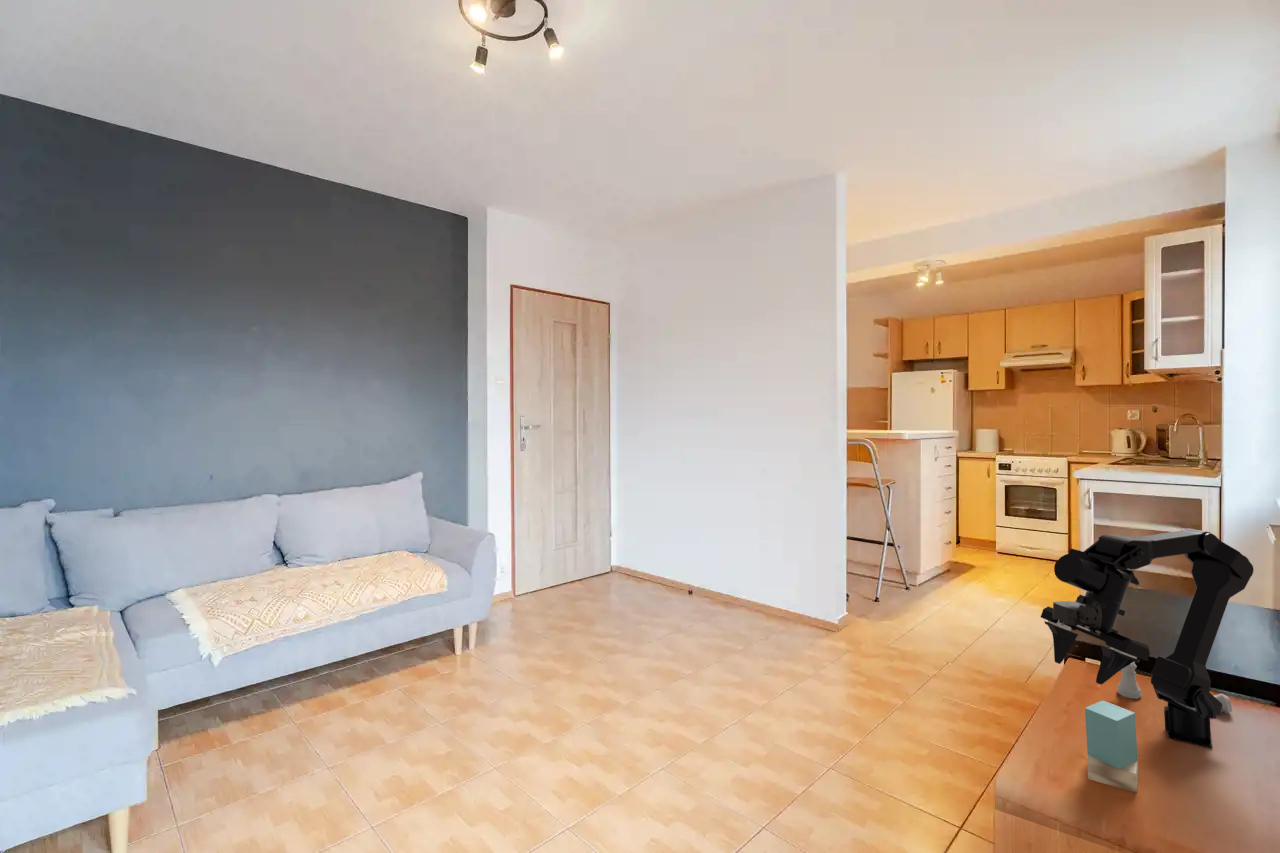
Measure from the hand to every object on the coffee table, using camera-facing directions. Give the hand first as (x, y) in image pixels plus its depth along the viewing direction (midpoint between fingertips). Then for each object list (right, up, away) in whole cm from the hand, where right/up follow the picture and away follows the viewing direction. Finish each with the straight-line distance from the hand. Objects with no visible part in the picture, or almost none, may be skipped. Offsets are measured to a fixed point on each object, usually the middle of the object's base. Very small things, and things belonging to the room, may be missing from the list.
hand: (1077, 672), depth 117 cm
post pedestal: (+3, -17, -5) cm, 18 cm away
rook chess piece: (+28, -14, +22) cm, 38 cm away
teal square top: (+3, -14, -5) cm, 15 cm away
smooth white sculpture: (+38, -14, +13) cm, 42 cm away
